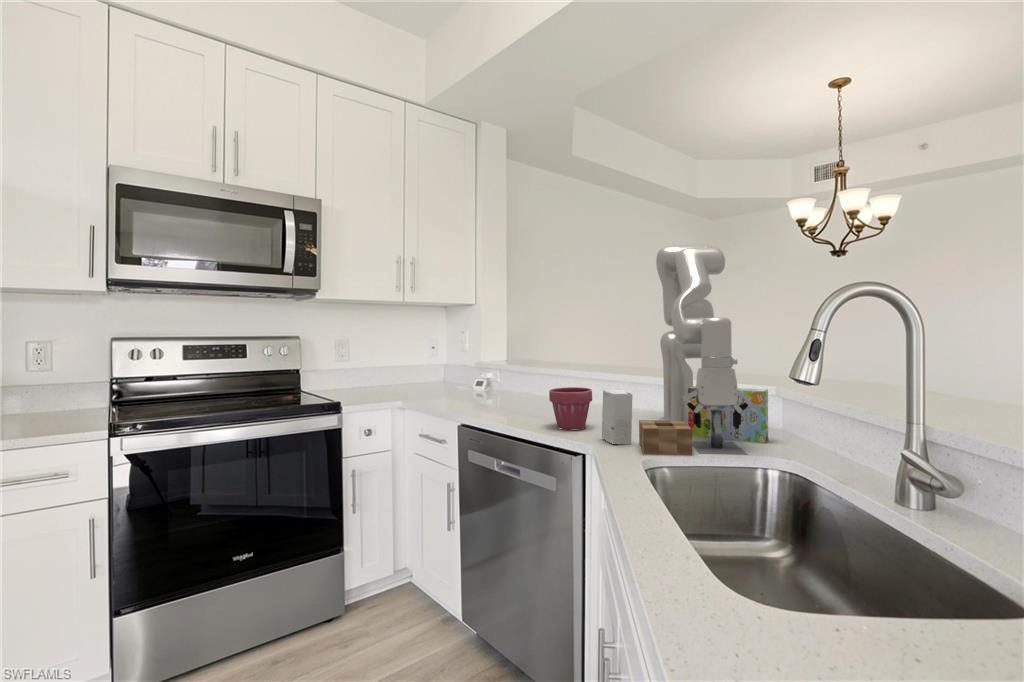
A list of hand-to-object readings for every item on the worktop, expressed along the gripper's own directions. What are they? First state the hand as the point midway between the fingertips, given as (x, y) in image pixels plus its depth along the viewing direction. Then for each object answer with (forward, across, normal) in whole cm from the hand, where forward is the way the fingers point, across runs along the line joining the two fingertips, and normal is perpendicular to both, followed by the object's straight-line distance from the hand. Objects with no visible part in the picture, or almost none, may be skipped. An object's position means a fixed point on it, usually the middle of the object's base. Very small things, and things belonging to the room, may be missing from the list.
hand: (717, 427), depth 132 cm
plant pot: (+6, +40, -26) cm, 48 cm away
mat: (+6, 0, 0) cm, 6 cm away
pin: (+6, 0, 0) cm, 6 cm away
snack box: (+6, -6, -14) cm, 16 cm away
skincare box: (+6, +26, -6) cm, 28 cm away
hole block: (+6, +14, +2) cm, 15 cm away
